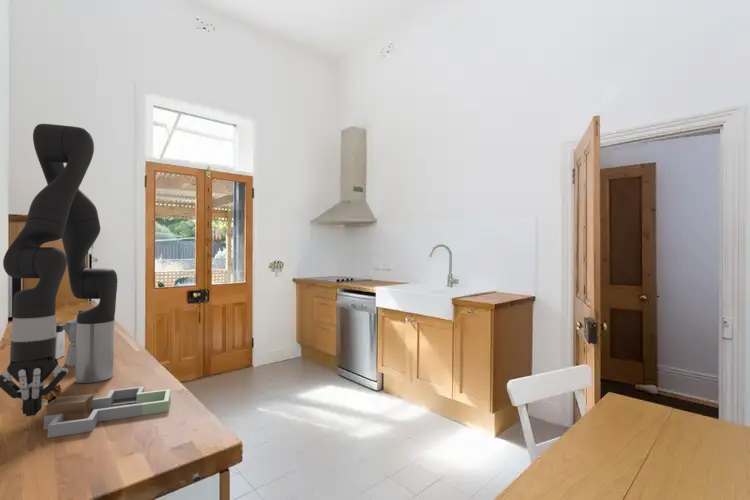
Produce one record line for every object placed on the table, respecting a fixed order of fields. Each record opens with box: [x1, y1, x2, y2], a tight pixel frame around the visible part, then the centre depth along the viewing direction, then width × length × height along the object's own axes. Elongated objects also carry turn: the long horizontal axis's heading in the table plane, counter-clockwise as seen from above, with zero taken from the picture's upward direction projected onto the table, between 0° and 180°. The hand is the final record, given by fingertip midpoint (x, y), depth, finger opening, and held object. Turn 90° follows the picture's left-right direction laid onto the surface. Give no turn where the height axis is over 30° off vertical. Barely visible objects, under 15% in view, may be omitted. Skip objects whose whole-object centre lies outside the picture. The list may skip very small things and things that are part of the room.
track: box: [43, 385, 172, 439], centre depth 90 cm, size 19×24×2 cm
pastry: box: [42, 383, 64, 408], centre depth 97 cm, size 7×12×4 cm, turn 32°
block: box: [45, 393, 94, 422], centre depth 87 cm, size 5×7×4 cm
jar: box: [55, 322, 66, 360], centre depth 135 cm, size 9×8×12 cm
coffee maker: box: [59, 310, 84, 367], centre depth 131 cm, size 15×9×18 cm, turn 148°
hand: (31, 414), depth 84 cm, fingers closed
